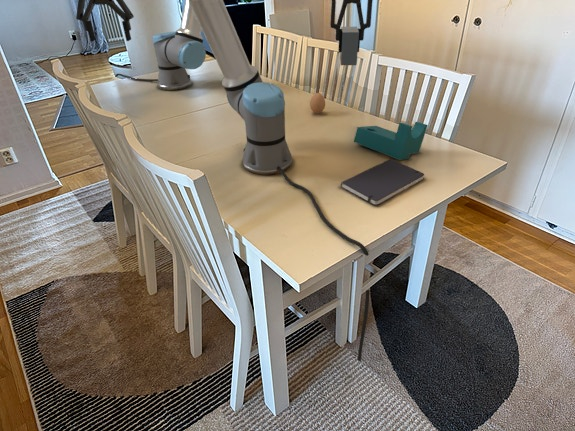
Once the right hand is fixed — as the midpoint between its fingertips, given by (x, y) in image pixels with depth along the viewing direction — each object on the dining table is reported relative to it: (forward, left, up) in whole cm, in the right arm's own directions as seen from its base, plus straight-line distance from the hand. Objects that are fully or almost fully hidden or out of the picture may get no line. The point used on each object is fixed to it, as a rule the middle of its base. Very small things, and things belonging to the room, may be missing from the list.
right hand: (348, 51), depth 131 cm
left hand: (+36, +80, +1) cm, 88 cm away
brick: (0, 0, -3) cm, 3 cm away
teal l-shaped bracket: (-20, -9, -27) cm, 34 cm away
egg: (+15, +6, -27) cm, 31 cm away
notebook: (-40, +1, -27) cm, 48 cm away
